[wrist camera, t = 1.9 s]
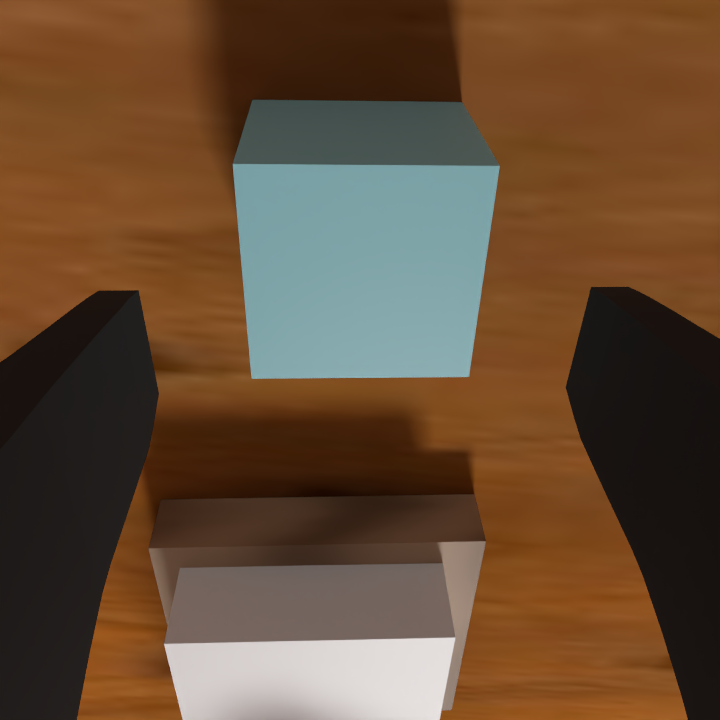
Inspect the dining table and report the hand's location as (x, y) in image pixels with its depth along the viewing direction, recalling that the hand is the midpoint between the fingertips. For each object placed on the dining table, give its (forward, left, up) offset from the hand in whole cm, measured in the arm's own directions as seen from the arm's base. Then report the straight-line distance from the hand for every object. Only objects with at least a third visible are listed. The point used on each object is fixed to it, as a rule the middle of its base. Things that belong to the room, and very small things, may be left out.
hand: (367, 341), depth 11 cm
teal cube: (0, 0, -6) cm, 6 cm away
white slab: (+1, +15, -4) cm, 16 cm away
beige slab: (+1, +15, -7) cm, 16 cm away
